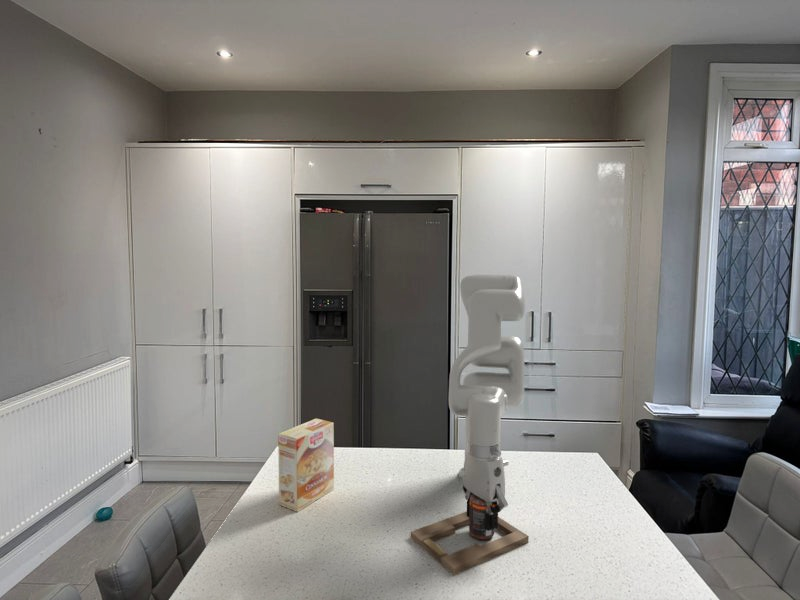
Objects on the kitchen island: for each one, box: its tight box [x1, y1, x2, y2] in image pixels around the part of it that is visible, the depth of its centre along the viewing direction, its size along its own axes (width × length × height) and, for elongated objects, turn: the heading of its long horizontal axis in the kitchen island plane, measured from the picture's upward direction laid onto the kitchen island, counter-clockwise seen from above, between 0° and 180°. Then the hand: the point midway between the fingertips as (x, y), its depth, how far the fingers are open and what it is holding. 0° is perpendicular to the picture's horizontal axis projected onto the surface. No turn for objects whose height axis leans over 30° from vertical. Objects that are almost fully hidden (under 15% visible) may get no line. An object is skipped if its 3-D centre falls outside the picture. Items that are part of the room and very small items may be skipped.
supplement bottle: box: [468, 494, 495, 540], centre depth 116 cm, size 6×6×11 cm
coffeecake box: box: [277, 418, 335, 513], centre depth 133 cm, size 15×7×20 cm, turn 148°
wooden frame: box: [410, 510, 529, 576], centre depth 114 cm, size 22×16×2 cm
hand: (481, 521), depth 116 cm, fingers closed on supplement bottle, 6 cm apart
